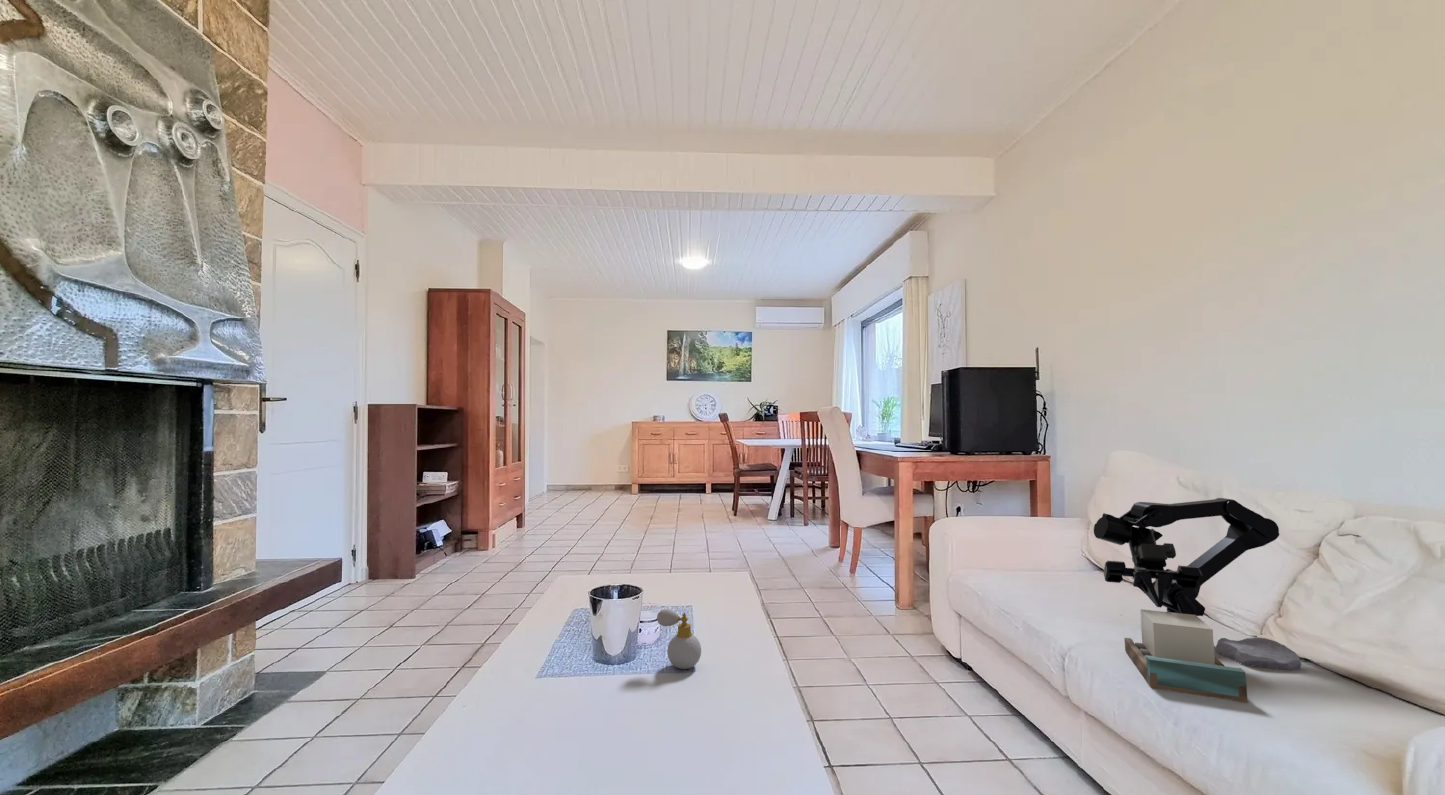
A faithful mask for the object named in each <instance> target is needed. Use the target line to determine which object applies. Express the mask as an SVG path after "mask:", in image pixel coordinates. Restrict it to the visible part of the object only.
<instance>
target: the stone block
mask: <svg viewBox="0 0 1445 795" xmlns="http://www.w3.org/2000/svg"><path fill="white" fill-rule="evenodd" d="M1215 648H1216V650H1217V652H1218V653H1219V654H1220V655H1221V656H1224V657H1226V658H1229V659H1231V660H1233V661H1235V662H1236V663H1238V662H1239V663H1238V664H1240V663H1241V664H1240V665H1243V664H1245V666H1251V665H1254V666H1253V667H1259V666H1262V668H1268V667H1269V669H1276V668H1278V670H1287V671H1291V670H1300V669H1301V668H1302V662H1301V659H1300V656H1299V655H1298V654H1297V653H1296V652H1295V651H1293V650H1291V648H1289V647H1287V646H1286V645H1285V644H1282V643H1280V642H1278V641H1276V640H1272V639H1269V638H1266V637H1251V638H1250V637H1248V638H1247V637H1246V638H1243V639H1240V640H1232V639H1229V638H1226V637H1221V638H1219V639H1218V640H1217V644H1216V647H1215Z"/></svg>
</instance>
